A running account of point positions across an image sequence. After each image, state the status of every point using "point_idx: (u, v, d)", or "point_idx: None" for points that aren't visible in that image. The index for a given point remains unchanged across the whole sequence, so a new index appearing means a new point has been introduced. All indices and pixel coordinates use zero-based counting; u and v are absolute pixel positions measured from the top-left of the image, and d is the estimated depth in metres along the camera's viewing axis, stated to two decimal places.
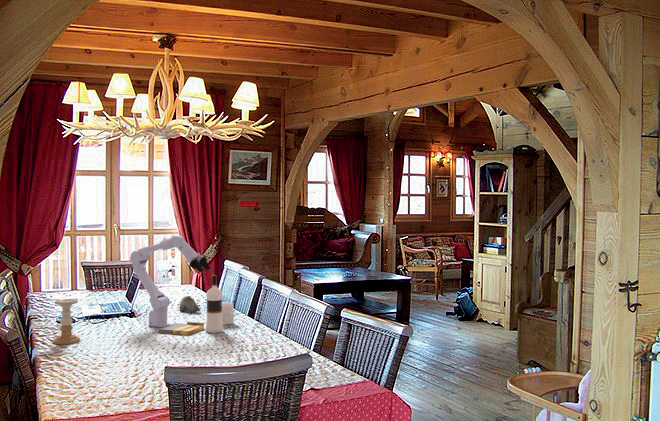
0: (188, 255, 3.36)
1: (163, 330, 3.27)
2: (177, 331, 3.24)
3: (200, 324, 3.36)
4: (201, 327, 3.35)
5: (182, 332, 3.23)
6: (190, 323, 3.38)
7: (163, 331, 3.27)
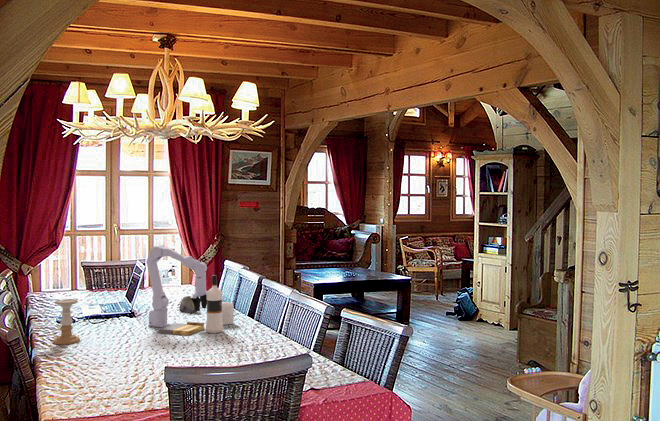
0: (198, 288, 3.40)
1: (163, 330, 3.27)
2: (177, 331, 3.24)
3: (200, 324, 3.36)
4: (201, 327, 3.35)
5: (182, 332, 3.23)
6: (190, 323, 3.38)
7: (163, 331, 3.27)
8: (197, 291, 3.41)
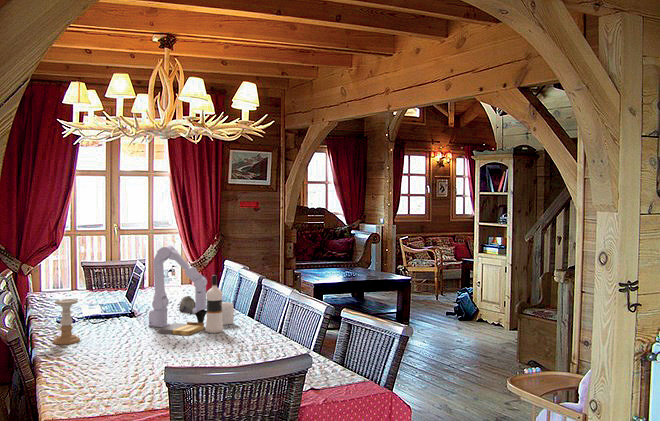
0: (198, 303, 3.41)
1: (163, 330, 3.27)
2: (177, 331, 3.24)
3: (200, 324, 3.36)
4: (201, 327, 3.35)
5: (182, 332, 3.23)
6: (190, 323, 3.38)
7: (163, 331, 3.27)
8: (197, 306, 3.41)
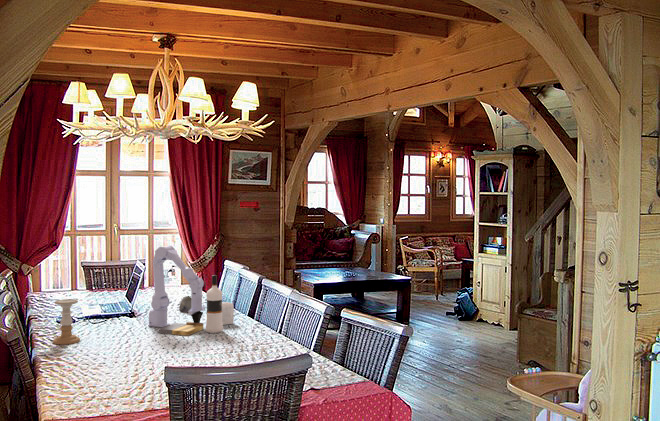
0: (194, 304, 3.36)
1: (163, 330, 3.27)
2: (177, 331, 3.23)
3: (199, 324, 3.36)
4: (200, 327, 3.34)
5: (181, 332, 3.23)
6: (189, 323, 3.37)
7: (163, 331, 3.27)
8: (193, 307, 3.37)
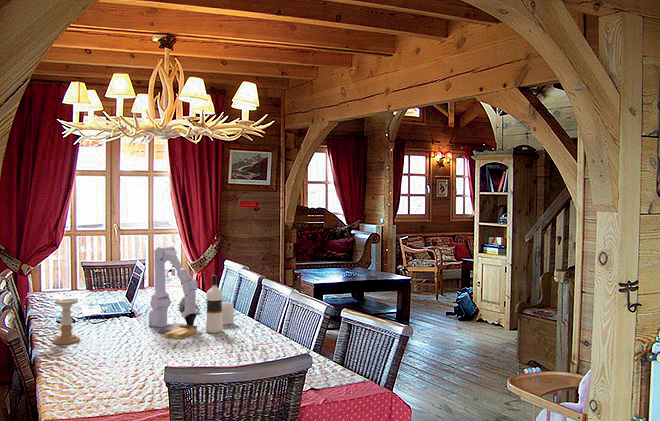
0: (187, 307, 3.30)
1: (163, 330, 3.27)
2: (169, 334, 3.17)
3: (193, 327, 3.29)
4: (193, 330, 3.27)
5: (174, 335, 3.16)
6: (183, 326, 3.31)
7: (163, 331, 3.27)
8: (186, 309, 3.30)
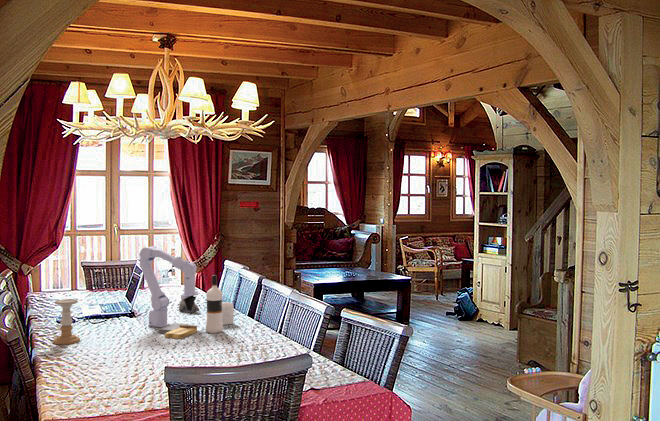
0: (186, 289, 3.38)
1: (163, 330, 3.27)
2: (169, 334, 3.17)
3: (193, 327, 3.29)
4: (193, 330, 3.27)
5: (174, 335, 3.16)
6: (183, 326, 3.31)
7: (163, 331, 3.27)
8: (186, 292, 3.39)
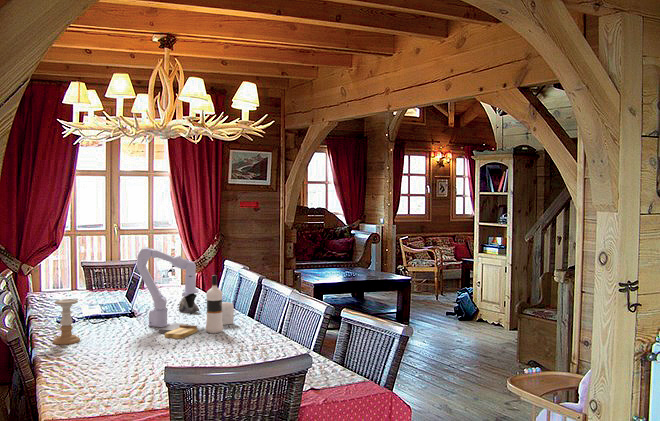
0: (187, 287, 3.46)
1: (163, 330, 3.27)
2: (169, 334, 3.17)
3: (193, 327, 3.29)
4: (193, 330, 3.27)
5: (174, 335, 3.16)
6: (183, 326, 3.31)
7: (163, 331, 3.27)
8: (187, 289, 3.46)
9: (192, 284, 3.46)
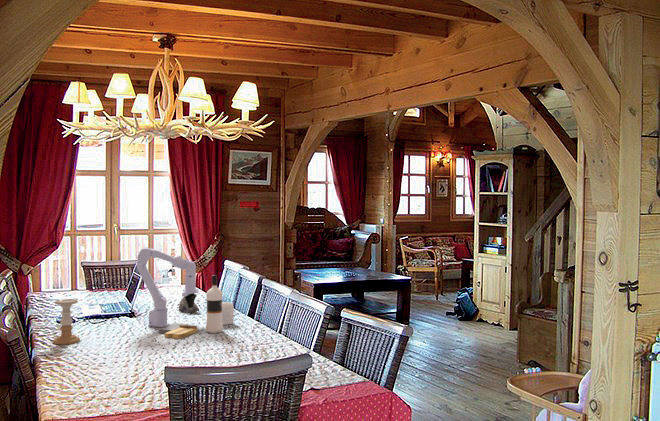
0: (187, 287, 3.46)
1: (163, 330, 3.27)
2: (169, 334, 3.17)
3: (193, 327, 3.29)
4: (193, 330, 3.27)
5: (174, 335, 3.16)
6: (183, 326, 3.31)
7: (163, 331, 3.27)
8: (187, 289, 3.46)
9: (192, 284, 3.46)
